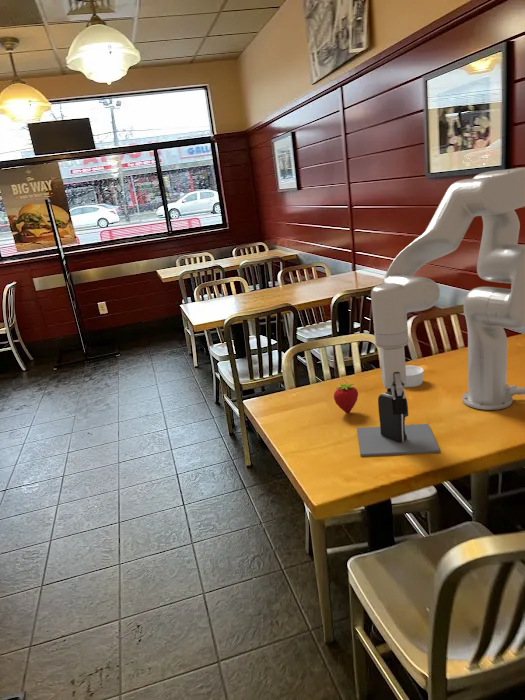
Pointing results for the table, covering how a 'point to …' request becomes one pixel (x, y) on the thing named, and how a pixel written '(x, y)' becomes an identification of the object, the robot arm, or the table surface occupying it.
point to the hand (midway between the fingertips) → (396, 405)
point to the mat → (378, 444)
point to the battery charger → (391, 419)
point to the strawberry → (346, 397)
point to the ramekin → (414, 376)
